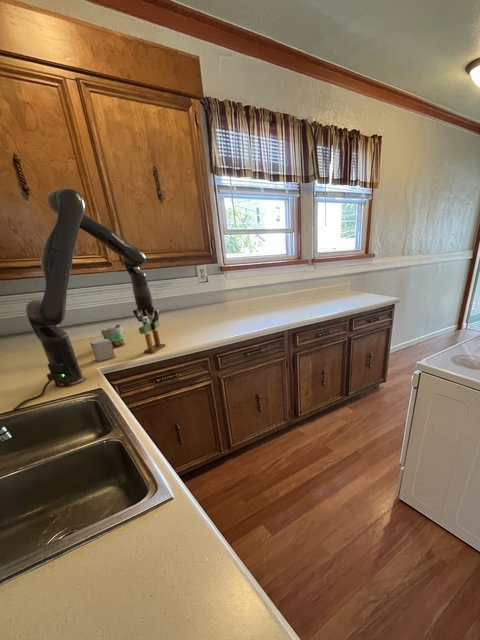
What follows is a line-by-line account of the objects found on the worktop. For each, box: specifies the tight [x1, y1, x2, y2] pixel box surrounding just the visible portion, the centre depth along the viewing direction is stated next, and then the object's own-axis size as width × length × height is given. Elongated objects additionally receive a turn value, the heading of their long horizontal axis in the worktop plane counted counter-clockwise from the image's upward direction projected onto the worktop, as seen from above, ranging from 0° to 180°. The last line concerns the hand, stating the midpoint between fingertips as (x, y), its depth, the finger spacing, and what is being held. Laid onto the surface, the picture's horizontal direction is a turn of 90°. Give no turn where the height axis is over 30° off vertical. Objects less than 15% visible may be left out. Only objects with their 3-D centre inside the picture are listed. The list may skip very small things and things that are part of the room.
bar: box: [138, 320, 161, 335], centre depth 166 cm, size 3×14×3 cm, turn 172°
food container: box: [100, 324, 125, 349], centre depth 175 cm, size 12×6×10 cm, turn 168°
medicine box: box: [90, 338, 116, 362], centre depth 158 cm, size 8×4×9 cm, turn 141°
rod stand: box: [143, 329, 166, 354], centre depth 170 cm, size 5×12×9 cm, turn 171°
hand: (150, 329), depth 167 cm, fingers closed on bar, 3 cm apart
